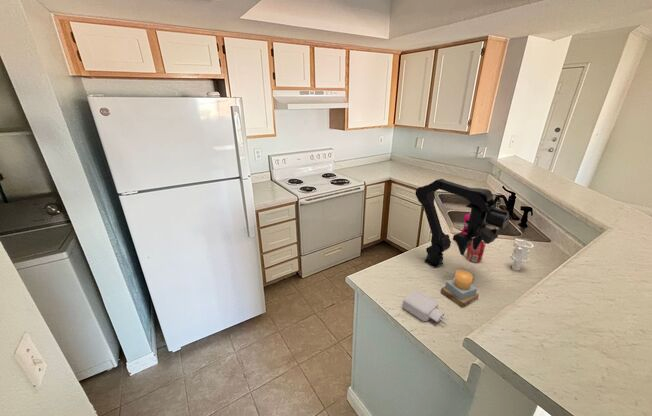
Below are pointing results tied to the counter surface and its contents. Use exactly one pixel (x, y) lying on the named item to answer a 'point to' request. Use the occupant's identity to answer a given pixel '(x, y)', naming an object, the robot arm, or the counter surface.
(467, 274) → the orange cylinder
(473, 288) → the block
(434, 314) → the charger
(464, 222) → the pepper mill
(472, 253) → the soda can
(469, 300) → the tower base
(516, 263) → the white tall piece
